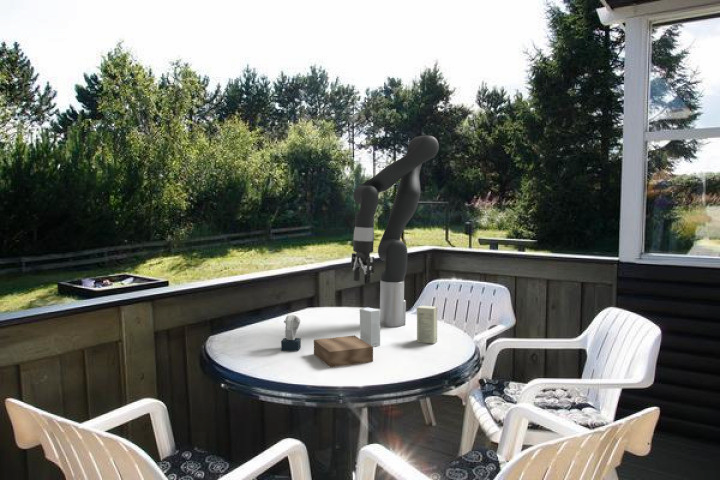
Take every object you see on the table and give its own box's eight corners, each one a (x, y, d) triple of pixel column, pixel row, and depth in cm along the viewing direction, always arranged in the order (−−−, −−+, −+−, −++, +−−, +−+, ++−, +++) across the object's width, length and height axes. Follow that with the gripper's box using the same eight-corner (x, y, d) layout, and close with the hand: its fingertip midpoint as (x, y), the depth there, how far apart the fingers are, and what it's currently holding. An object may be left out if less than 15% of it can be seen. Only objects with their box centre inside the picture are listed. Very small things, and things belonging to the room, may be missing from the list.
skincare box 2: (437, 341, 185) (438, 306, 184) (433, 344, 181) (434, 308, 180) (419, 338, 188) (420, 304, 187) (415, 341, 184) (416, 306, 183)
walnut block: (354, 350, 174) (354, 335, 174) (373, 362, 162) (373, 346, 161) (313, 355, 168) (313, 339, 168) (329, 368, 156) (329, 351, 155)
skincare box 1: (380, 345, 179) (381, 309, 178) (370, 347, 176) (371, 311, 175) (368, 341, 184) (369, 306, 183) (358, 343, 181) (359, 308, 180)
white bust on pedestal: (301, 345, 177) (301, 313, 176) (297, 352, 169) (297, 318, 168) (285, 345, 178) (285, 312, 177) (279, 352, 170) (279, 318, 169)
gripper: (381, 241, 194) (379, 285, 195) (363, 238, 207) (361, 279, 208) (363, 241, 191) (361, 285, 192) (346, 237, 203) (344, 279, 204)
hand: (361, 282), depth 200 cm, fingers open, 8 cm apart
